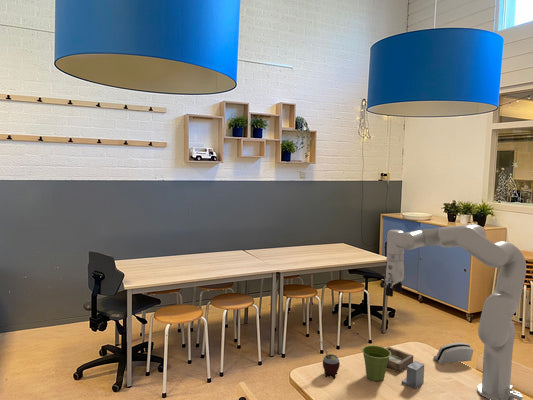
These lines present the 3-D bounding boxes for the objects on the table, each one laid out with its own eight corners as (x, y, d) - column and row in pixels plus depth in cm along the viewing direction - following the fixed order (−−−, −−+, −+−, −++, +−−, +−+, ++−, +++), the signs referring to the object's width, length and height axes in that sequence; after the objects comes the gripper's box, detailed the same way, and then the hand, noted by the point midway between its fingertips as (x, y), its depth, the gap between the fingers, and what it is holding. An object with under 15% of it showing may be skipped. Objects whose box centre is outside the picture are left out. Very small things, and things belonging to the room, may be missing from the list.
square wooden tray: (413, 363, 181) (413, 355, 181) (399, 372, 172) (399, 364, 172) (388, 353, 190) (388, 346, 190) (374, 362, 181) (374, 354, 181)
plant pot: (391, 386, 162) (392, 359, 161) (361, 382, 164) (362, 356, 163) (388, 371, 173) (389, 346, 172) (360, 368, 176) (361, 343, 175)
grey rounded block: (463, 355, 189) (470, 339, 185) (470, 363, 185) (476, 346, 181) (432, 358, 185) (438, 342, 181) (438, 366, 181) (444, 350, 177)
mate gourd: (342, 377, 168) (343, 342, 167) (327, 381, 165) (328, 346, 164) (331, 369, 175) (332, 335, 174) (316, 373, 171) (317, 339, 170)
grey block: (423, 382, 165) (424, 364, 164) (415, 389, 160) (416, 370, 159) (409, 377, 169) (410, 359, 168) (401, 383, 164) (402, 364, 163)
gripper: (395, 261, 174) (393, 299, 176) (410, 255, 187) (409, 291, 189) (379, 258, 179) (377, 296, 181) (395, 252, 192) (393, 287, 194)
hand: (393, 293), depth 185 cm, fingers open, 9 cm apart
